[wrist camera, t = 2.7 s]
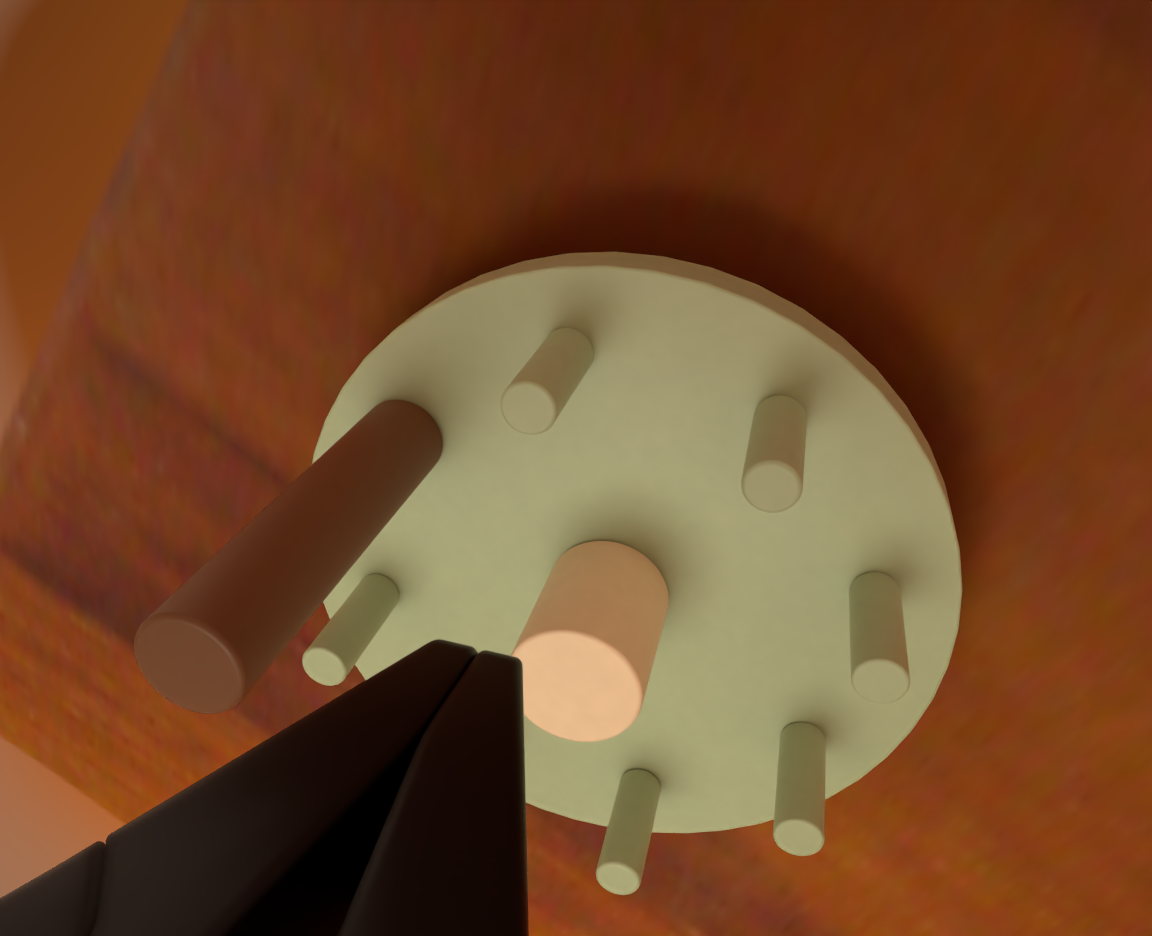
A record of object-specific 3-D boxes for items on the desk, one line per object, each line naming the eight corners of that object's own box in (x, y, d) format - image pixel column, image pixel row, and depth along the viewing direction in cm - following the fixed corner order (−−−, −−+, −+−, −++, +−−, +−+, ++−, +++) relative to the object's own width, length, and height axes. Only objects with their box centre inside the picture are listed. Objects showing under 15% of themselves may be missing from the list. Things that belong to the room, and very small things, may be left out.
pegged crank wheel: (1117, 561, 17) (1313, 967, 10) (669, 881, 23) (599, 1265, 16) (544, 91, 16) (311, 181, 9) (235, 567, 22) (-41, 838, 15)
